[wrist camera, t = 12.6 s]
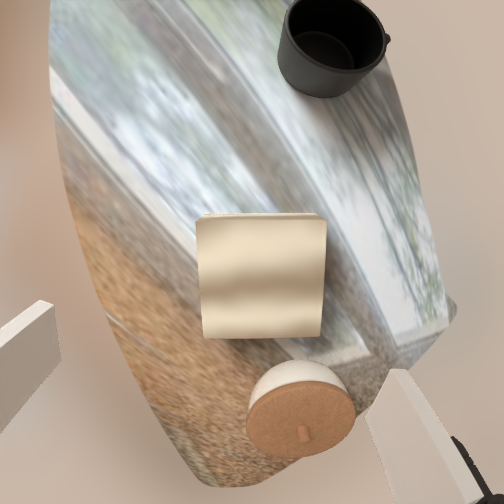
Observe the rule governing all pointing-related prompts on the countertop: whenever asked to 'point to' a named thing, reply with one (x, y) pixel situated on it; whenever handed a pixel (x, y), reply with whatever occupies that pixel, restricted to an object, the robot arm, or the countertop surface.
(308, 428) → the lidded bowl
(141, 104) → the countertop surface
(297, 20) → the black cup
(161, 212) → the countertop surface
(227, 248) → the riser block
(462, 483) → the robot arm
